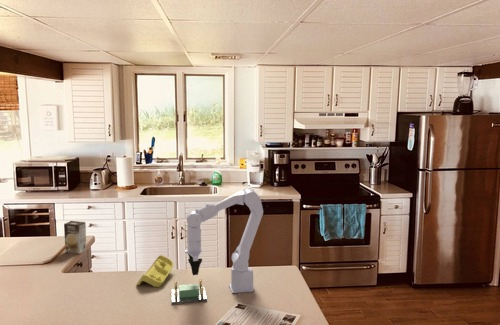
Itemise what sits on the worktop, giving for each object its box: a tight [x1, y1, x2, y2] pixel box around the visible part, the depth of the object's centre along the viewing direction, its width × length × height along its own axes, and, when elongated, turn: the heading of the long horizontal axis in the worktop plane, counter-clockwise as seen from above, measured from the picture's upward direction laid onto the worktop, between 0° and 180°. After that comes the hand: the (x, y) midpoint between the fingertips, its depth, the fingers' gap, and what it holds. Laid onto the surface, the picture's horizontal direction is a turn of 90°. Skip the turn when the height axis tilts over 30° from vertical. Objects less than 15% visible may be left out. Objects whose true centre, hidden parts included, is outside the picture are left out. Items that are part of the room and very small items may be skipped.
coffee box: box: [63, 220, 87, 255], centre depth 203 cm, size 9×6×16 cm
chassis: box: [171, 279, 208, 305], centre depth 155 cm, size 14×11×5 cm
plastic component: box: [136, 254, 174, 288], centre depth 172 cm, size 20×7×10 cm
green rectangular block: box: [178, 283, 200, 298], centre depth 155 cm, size 8×5×3 cm, turn 102°
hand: (194, 270), depth 158 cm, fingers open, 7 cm apart
